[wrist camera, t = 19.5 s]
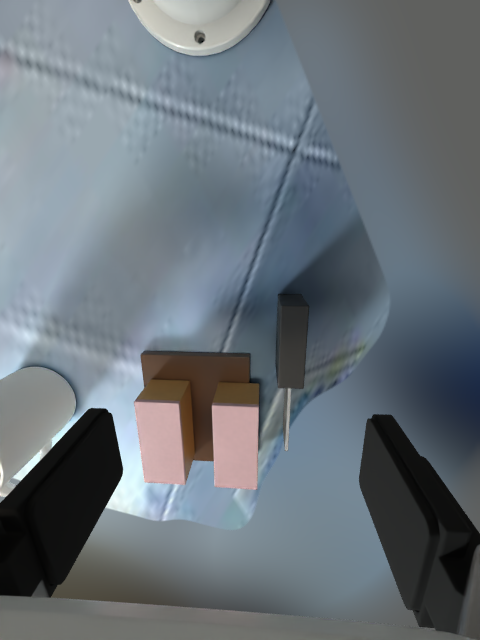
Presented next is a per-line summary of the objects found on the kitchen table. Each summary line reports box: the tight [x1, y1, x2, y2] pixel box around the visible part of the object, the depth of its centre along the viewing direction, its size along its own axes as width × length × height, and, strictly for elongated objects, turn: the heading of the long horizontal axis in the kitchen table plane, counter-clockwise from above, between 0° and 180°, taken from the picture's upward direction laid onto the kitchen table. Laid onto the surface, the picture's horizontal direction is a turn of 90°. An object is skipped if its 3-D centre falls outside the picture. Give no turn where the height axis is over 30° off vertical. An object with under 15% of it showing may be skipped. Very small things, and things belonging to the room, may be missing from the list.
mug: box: [0, 367, 76, 497], centre depth 30 cm, size 9×12×11 cm
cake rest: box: [134, 379, 195, 485], centre depth 31 cm, size 10×4×4 cm, turn 0°
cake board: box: [141, 351, 250, 461], centre depth 33 cm, size 14×12×1 cm
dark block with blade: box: [276, 294, 309, 451], centre depth 29 cm, size 16×2×5 cm, turn 0°
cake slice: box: [212, 382, 259, 490], centre depth 31 cm, size 10×4×4 cm, turn 0°
